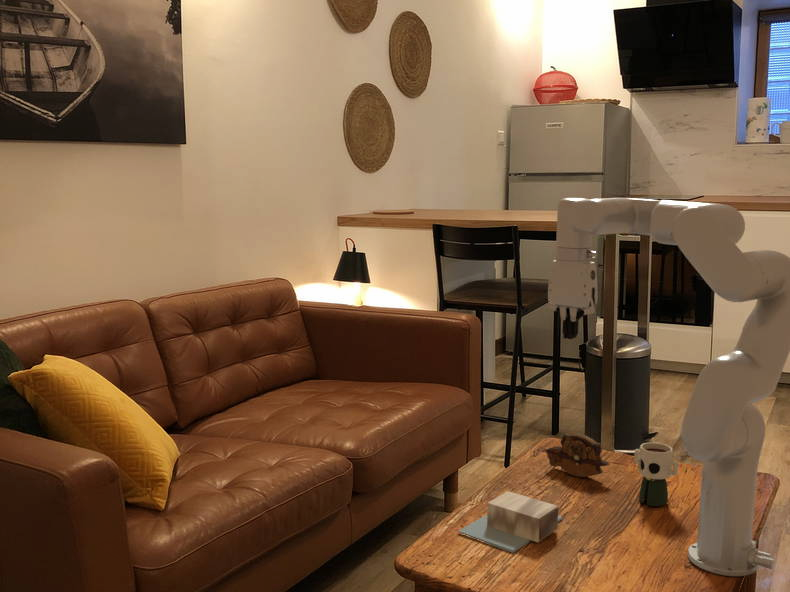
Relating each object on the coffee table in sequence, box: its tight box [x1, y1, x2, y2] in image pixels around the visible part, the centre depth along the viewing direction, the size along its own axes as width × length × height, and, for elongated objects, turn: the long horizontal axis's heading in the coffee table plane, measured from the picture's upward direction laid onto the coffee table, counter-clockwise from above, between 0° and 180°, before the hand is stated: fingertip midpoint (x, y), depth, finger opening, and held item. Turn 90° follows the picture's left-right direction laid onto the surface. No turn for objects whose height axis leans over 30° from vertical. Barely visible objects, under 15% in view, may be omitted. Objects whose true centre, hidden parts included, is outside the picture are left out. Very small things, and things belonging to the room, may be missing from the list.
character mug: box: [633, 442, 679, 507], centre depth 182 cm, size 11×7×13 cm, turn 38°
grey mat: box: [457, 514, 563, 554], centre depth 171 cm, size 13×20×1 cm, turn 141°
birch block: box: [486, 490, 559, 543], centre depth 169 cm, size 5×8×12 cm
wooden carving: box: [545, 433, 611, 478], centre depth 199 cm, size 16×5×10 cm, turn 53°
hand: (570, 337), depth 181 cm, fingers closed
